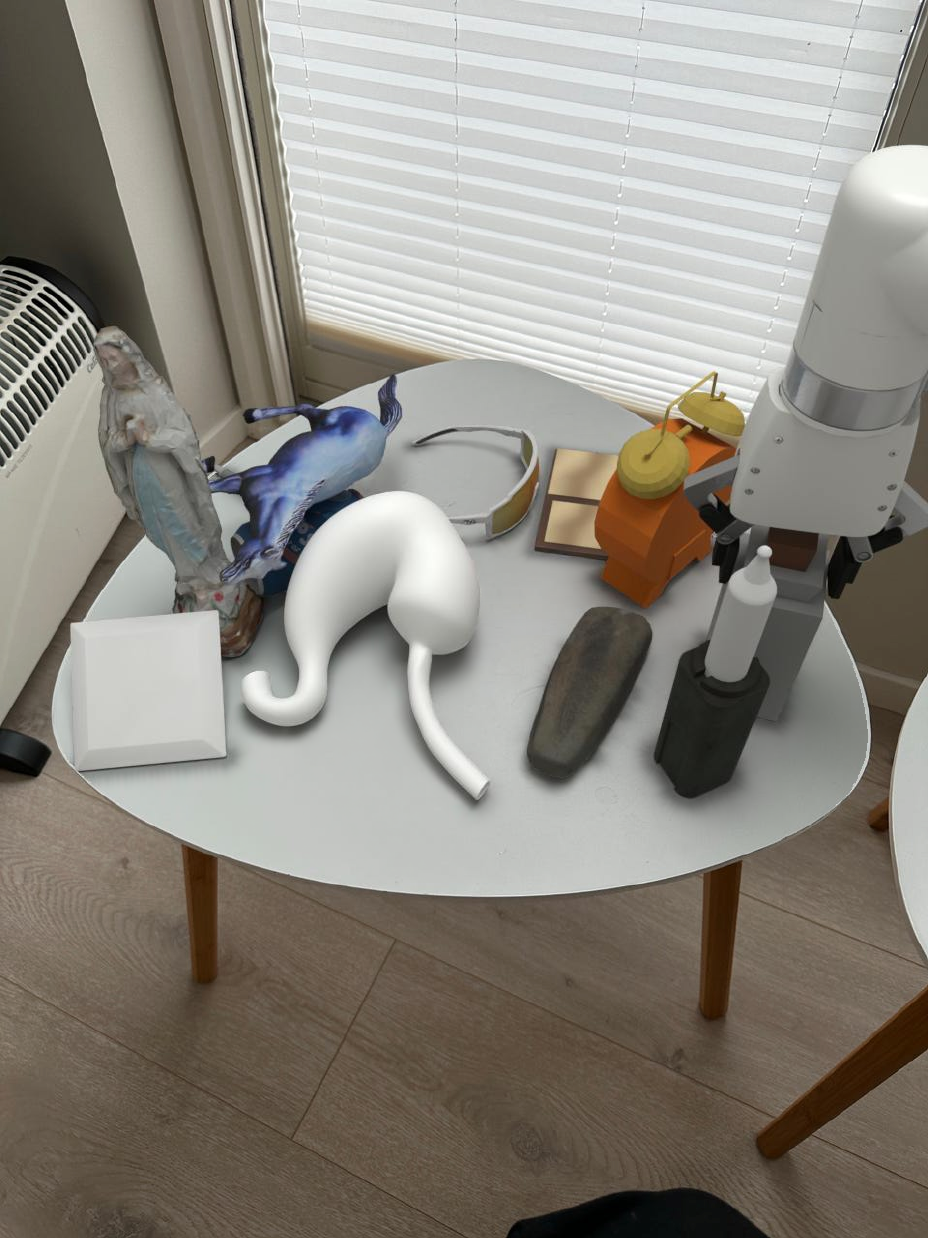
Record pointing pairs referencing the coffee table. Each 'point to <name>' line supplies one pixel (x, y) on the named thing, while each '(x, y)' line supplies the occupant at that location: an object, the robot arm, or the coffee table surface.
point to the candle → (719, 688)
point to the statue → (168, 487)
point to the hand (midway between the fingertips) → (778, 575)
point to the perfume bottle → (785, 604)
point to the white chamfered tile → (147, 690)
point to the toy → (303, 474)
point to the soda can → (294, 541)
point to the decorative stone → (587, 688)
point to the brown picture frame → (574, 503)
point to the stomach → (363, 582)
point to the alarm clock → (663, 496)
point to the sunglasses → (516, 500)
